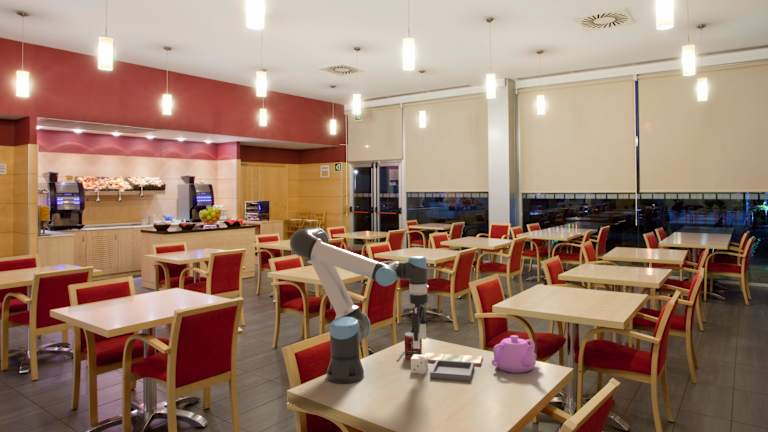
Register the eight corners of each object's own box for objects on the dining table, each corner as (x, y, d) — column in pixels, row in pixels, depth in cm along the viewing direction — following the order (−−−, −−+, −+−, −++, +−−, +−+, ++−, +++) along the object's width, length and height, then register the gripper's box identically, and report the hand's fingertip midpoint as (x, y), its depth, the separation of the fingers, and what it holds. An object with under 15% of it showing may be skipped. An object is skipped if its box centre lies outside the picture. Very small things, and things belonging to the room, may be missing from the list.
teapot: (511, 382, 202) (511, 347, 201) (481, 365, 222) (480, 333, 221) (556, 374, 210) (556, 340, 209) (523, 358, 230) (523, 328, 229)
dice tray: (430, 378, 207) (430, 372, 207) (436, 365, 223) (436, 359, 223) (470, 381, 203) (470, 375, 203) (474, 368, 219) (473, 362, 219)
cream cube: (410, 372, 214) (410, 358, 214) (413, 367, 220) (413, 353, 220) (425, 374, 213) (425, 359, 213) (428, 369, 219) (427, 354, 218)
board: (396, 361, 229) (396, 358, 229) (402, 352, 241) (402, 349, 241) (480, 367, 220) (480, 364, 220) (482, 357, 232) (482, 355, 232)
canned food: (403, 360, 230) (403, 335, 230) (406, 354, 238) (405, 331, 238) (420, 360, 229) (420, 336, 229) (422, 355, 237) (422, 331, 236)
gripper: (421, 299, 202) (423, 353, 203) (432, 287, 226) (433, 335, 227) (403, 299, 204) (404, 352, 205) (415, 287, 228) (417, 334, 229)
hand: (419, 343), depth 216 cm, fingers open, 13 cm apart
